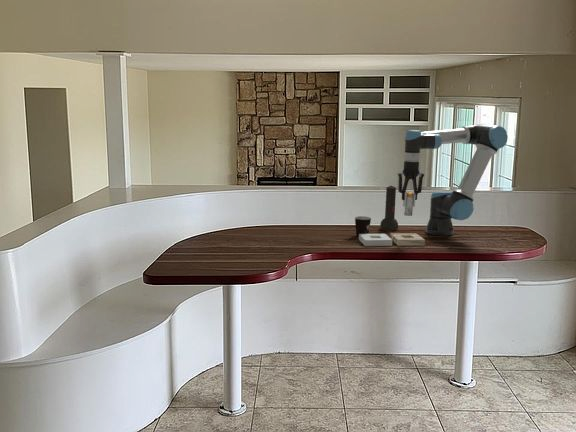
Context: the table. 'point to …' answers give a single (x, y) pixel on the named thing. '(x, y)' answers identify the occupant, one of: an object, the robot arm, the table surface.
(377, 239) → the mount block
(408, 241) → the block
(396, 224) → the flashlight
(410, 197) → the pin
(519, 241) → the table surface
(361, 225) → the coffee mug
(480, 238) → the table surface
